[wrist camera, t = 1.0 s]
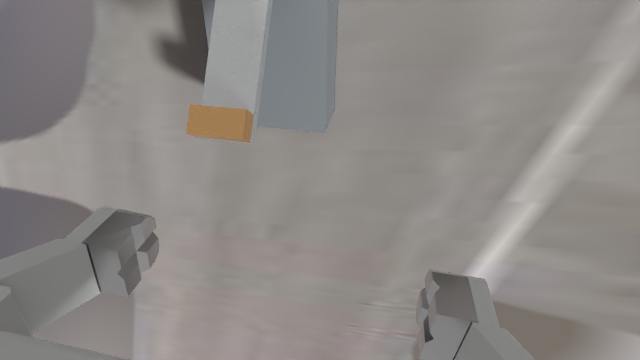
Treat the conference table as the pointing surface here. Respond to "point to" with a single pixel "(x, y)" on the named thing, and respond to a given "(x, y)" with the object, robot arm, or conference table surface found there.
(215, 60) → the lever
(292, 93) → the clamp block
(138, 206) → the conference table surface
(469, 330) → the robot arm
